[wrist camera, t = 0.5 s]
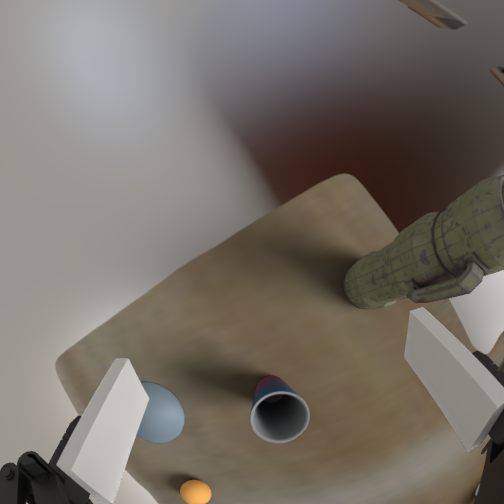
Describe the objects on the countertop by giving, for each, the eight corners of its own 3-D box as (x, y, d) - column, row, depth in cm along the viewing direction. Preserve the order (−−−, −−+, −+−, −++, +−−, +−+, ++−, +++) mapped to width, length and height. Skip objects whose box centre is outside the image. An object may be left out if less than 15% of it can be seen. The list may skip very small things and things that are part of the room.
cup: (295, 374, 42) (315, 395, 28) (286, 411, 41) (301, 445, 26) (254, 367, 43) (256, 386, 28) (246, 404, 41) (244, 438, 26)
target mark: (196, 432, 39) (196, 432, 39) (141, 448, 38) (141, 448, 38) (164, 372, 42) (164, 373, 42) (111, 392, 41) (110, 393, 40)
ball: (218, 491, 36) (215, 507, 30) (193, 498, 35) (187, 512, 30) (203, 471, 37) (198, 486, 32) (178, 478, 36) (171, 492, 31)
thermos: (396, 268, 47) (544, 186, 13) (371, 325, 44) (544, 304, 10) (358, 244, 48) (488, 125, 14) (330, 302, 45) (485, 243, 12)
